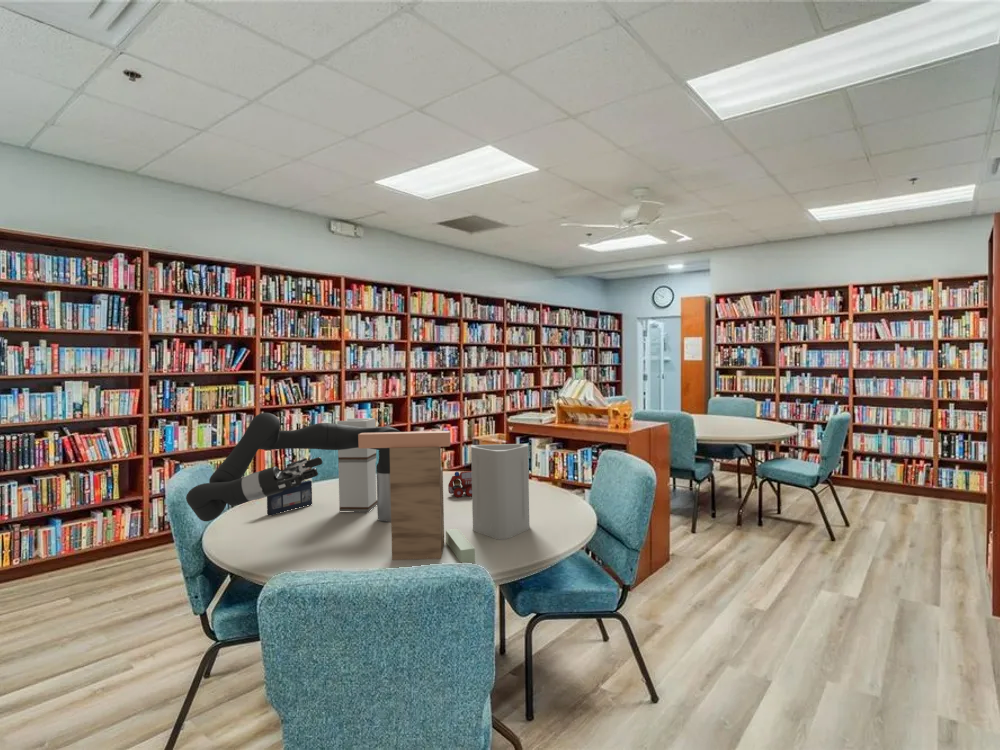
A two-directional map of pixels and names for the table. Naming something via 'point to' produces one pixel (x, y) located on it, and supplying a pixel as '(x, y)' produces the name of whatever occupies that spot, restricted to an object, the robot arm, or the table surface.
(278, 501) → the vhs cassette tape
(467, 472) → the toy fire truck
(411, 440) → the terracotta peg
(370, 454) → the banded white pillar
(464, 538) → the sage peg
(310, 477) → the robot arm
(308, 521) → the table surface
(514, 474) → the grey triangular vase
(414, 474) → the walnut stand
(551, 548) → the table surface
